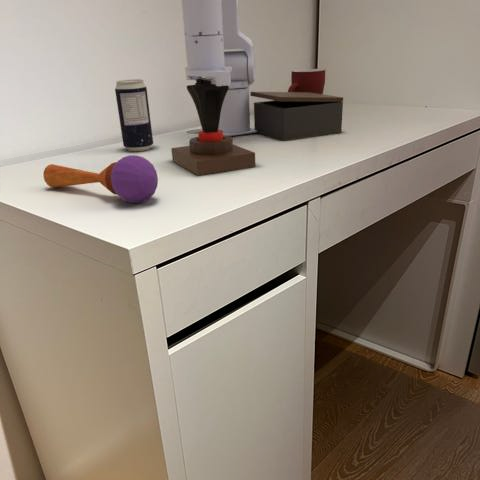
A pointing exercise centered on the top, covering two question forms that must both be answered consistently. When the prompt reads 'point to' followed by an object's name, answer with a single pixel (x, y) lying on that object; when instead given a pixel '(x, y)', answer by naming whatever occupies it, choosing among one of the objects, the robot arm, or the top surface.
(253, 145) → the top surface
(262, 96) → the brown box lid
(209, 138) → the button
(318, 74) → the mug
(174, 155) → the panel
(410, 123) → the top surface
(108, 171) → the purple maraca
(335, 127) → the dark gray box
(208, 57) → the robot arm
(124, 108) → the beverage can
